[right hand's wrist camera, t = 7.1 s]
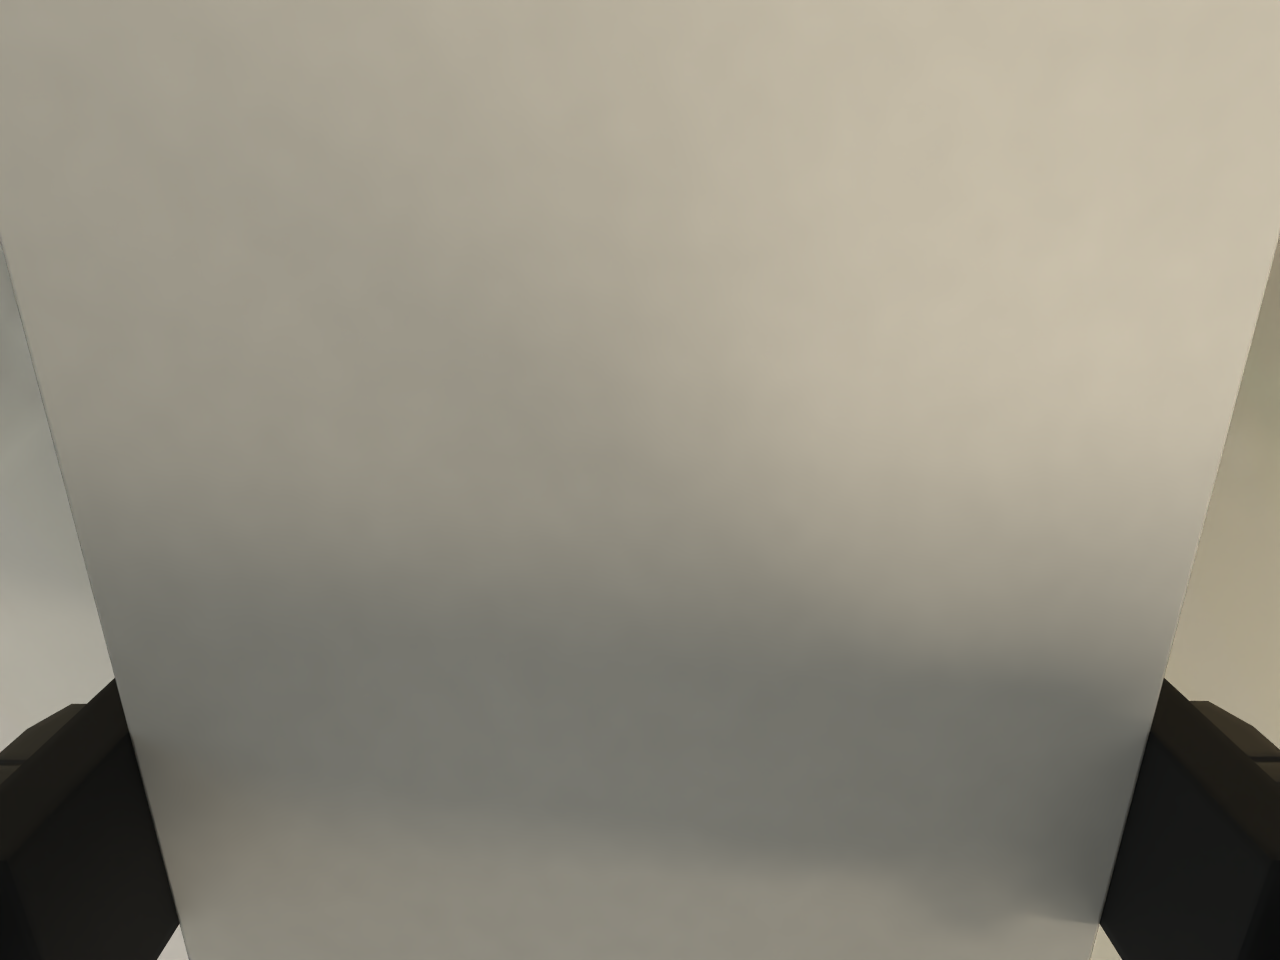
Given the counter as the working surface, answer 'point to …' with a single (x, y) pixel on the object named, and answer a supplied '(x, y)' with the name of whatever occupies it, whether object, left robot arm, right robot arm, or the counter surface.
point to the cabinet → (639, 449)
